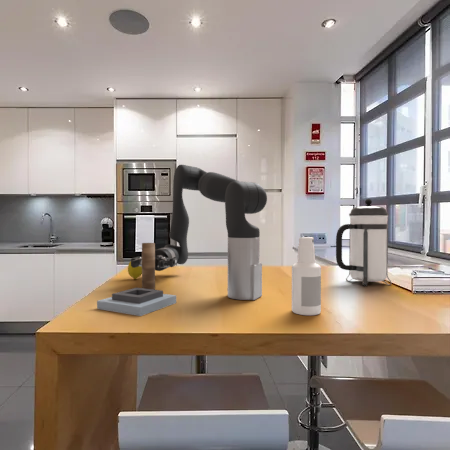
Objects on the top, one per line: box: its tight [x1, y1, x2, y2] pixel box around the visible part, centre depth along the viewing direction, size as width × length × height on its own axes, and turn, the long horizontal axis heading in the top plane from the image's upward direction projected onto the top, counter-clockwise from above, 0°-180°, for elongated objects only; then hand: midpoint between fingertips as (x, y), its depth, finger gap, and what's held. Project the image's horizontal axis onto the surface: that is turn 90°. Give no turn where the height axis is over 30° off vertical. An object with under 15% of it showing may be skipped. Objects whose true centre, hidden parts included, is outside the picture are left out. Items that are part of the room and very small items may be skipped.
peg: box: [141, 242, 156, 290], centre depth 104 cm, size 4×4×15 cm
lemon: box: [127, 260, 142, 280], centre depth 125 cm, size 6×6×8 cm
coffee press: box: [335, 198, 392, 287], centre depth 117 cm, size 17×16×30 cm
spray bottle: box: [291, 236, 322, 316], centre depth 80 cm, size 7×7×18 cm
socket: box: [96, 287, 177, 317], centre depth 85 cm, size 14×14×4 cm
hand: (146, 264), depth 102 cm, fingers open, 8 cm apart
